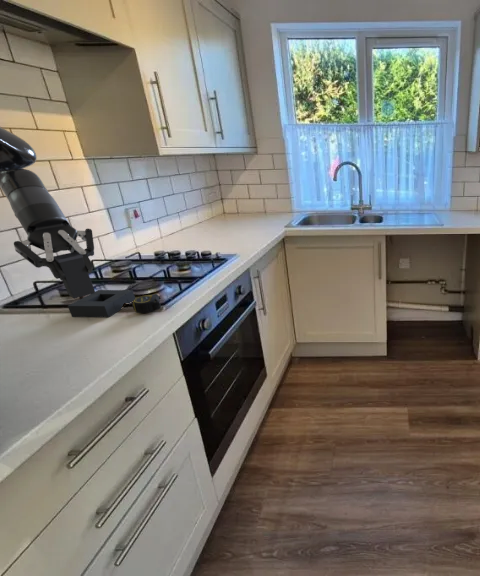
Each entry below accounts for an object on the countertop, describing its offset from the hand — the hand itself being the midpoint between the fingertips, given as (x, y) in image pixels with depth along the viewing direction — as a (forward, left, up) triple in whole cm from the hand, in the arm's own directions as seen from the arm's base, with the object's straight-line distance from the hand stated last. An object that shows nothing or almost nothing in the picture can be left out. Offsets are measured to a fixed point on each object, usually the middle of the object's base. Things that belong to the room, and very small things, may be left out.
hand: (76, 274), depth 78 cm
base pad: (+15, +23, -19) cm, 33 cm away
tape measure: (+19, +9, -19) cm, 28 cm away
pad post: (+1, +2, -5) cm, 5 cm away
